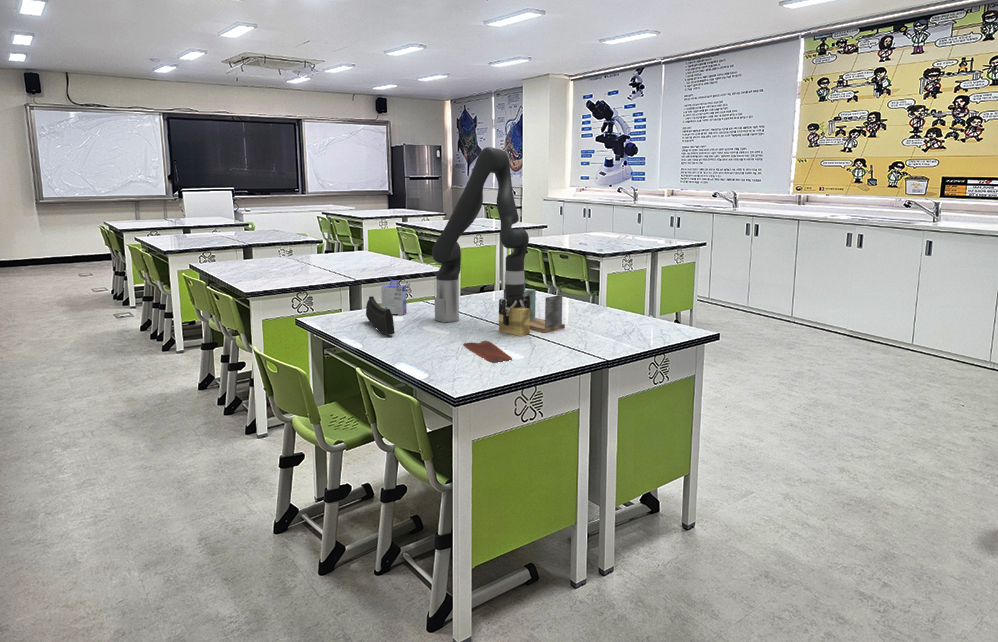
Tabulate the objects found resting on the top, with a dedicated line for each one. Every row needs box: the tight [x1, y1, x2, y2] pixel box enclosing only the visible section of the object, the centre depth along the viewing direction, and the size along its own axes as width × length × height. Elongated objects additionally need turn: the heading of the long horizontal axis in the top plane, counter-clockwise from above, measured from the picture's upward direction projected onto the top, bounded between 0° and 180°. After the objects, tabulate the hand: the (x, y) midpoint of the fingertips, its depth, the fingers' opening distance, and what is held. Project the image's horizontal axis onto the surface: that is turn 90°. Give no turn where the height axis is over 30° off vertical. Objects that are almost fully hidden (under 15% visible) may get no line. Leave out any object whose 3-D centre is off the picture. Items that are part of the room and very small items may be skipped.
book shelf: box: [503, 288, 566, 333], centre depth 275 cm, size 12×25×14 cm, turn 42°
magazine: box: [365, 295, 396, 336], centre depth 267 cm, size 17×3×30 cm
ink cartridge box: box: [380, 279, 408, 316], centre depth 295 cm, size 10×6×14 cm, turn 80°
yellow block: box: [498, 307, 531, 337], centre depth 263 cm, size 5×12×10 cm, turn 42°
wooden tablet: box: [463, 340, 513, 364], centre depth 235 cm, size 27×10×2 cm, turn 22°
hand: (514, 323), depth 263 cm, fingers open, 8 cm apart
